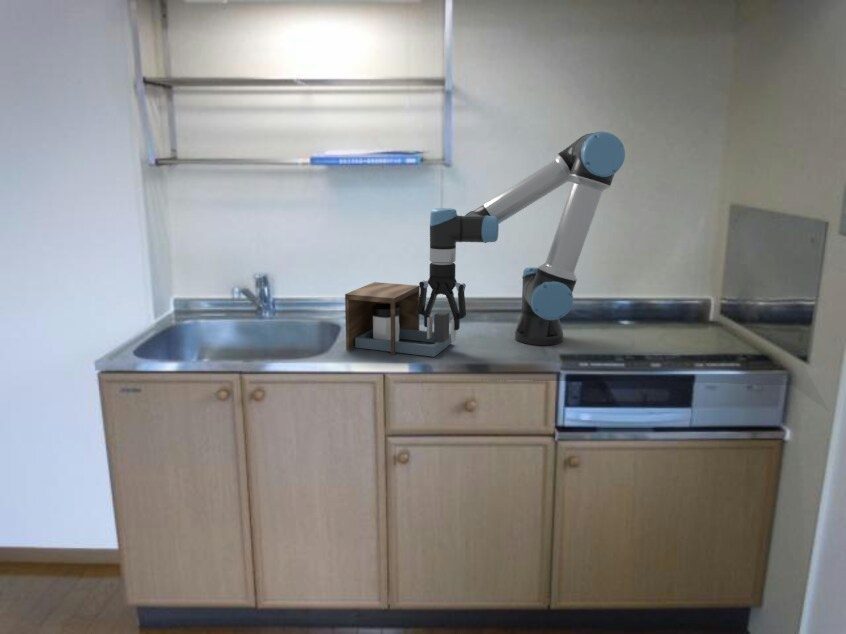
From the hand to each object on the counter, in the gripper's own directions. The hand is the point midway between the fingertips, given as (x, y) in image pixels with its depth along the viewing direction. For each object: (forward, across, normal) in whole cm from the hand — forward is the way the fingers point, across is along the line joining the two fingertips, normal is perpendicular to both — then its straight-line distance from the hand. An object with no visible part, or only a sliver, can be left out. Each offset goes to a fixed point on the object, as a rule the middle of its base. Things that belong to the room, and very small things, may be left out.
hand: (441, 339), depth 199 cm
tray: (+3, +12, 0) cm, 12 cm away
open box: (+4, +18, 0) cm, 18 cm away
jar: (+4, +18, 0) cm, 18 cm away
